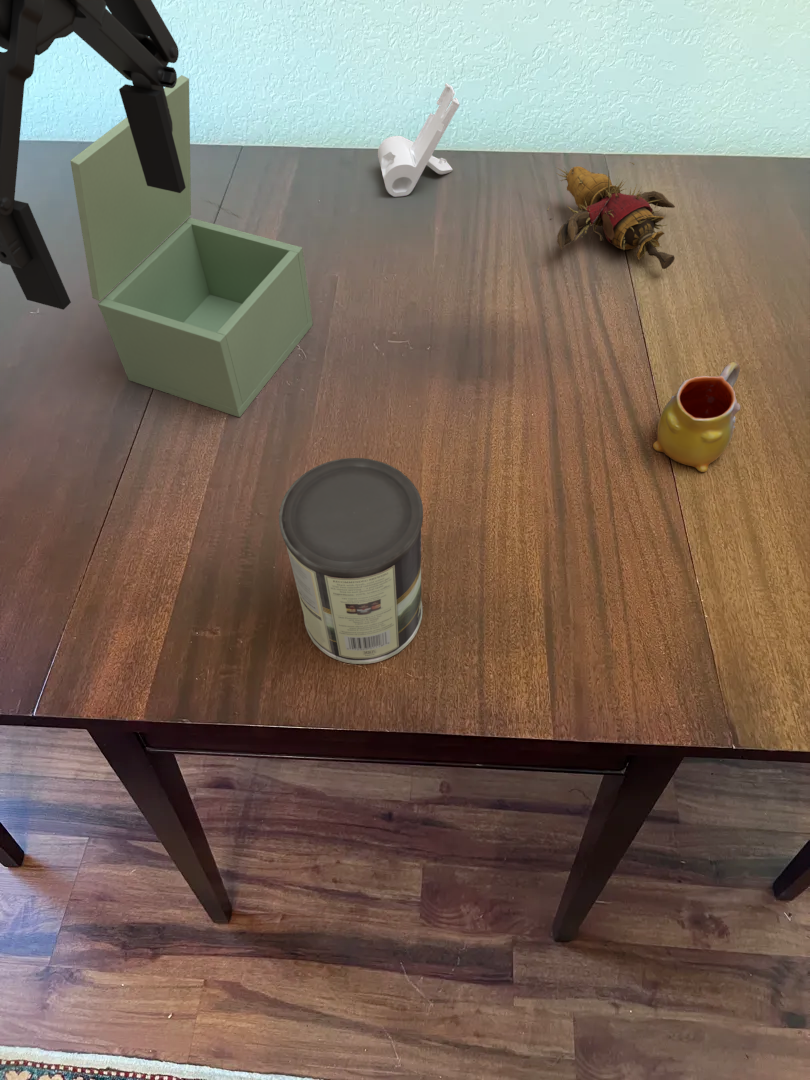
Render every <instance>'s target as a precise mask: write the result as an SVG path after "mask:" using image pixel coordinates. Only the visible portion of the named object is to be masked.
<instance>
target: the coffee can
mask: <svg viewBox="0 0 810 1080" xmlns="http://www.w3.org/2000/svg"><path fill="white" fill-rule="evenodd" d="M423 522H424V505H423V500H422V497H421V494H420V492H419V490H418V488H417V487H416V486H415V484H414V483H413V482H412V481H411V480H410V478H409V477H408V476H406V475H405V474H404V473H403V472H402V471H401V470H399V469H398V468H396V467H394V466H393V465H390V464H388V463H385V462H383V461H379V460H375V459H371V458H364V457H347V458H346V457H345V458H339V459H333V460H331V461H330V460H329V461H326V462H324V463H321V464H318V465H317V466H315V467H312V468H311V469H309V470H308V471H306V472H304V473H303V474H302V475H301V476H300V477H298V478H297V479H296V480H295V481H294V482H293V483H292V484H291V485H290V487H289V488H288V490H287V491H286V493H285V494H284V496H283V499H282V501H281V503H280V507H279V514H278V525H279V530H280V534H281V537H282V539H283V541H284V544H285V546H286V549H287V554H288V557H289V561H290V562H289V563H290V566H291V570H292V573H293V578H294V582H295V586H296V589H297V590H296V591H297V593H298V598H299V603H300V606H301V609H302V614H303V621H304V625H305V629H306V633H307V634H308V636H309V638H310V639H311V641H312V643H313V644H314V645H315V646H316V647H317V648H318V650H320V651H321V652H322V653H323V654H325V655H327V656H328V657H329V658H332V659H334V660H336V661H338V662H343V663H346V664H347V663H348V664H351V665H369V664H375V663H380V662H382V661H385V660H388V659H391V658H392V657H394V656H396V655H397V654H399V653H400V652H403V650H404V649H405V648H406V647H408V645H409V644H410V643H411V642H412V641H413V640H414V639H415V636H416V635H417V634H418V631H419V629H420V626H421V623H422V620H423V600H422V527H423Z"/></svg>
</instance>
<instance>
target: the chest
mask: <svg viewBox="0 0 810 1080" xmlns="http://www.w3.org/2000/svg"><path fill="white" fill-rule="evenodd" d="M309 292H310V291H309V285H308V278H307V270H306V265H305V255H304V250H303V247H302V246H299V245H295V244H291V243H287V242H284V241H279V240H275V239H272V238H268V237H264V236H261V235H258V234H257V235H256V234H254V233H250V232H245V231H243V230H242V231H241V230H238V229H235V228H231V227H227V226H223V225H220V224H217V223H213V222H212V223H211V222H209V221H205V220H201V219H197V218H194V217H191V216H189V217H188V218H187V219H186V220H185V221H184V222H183V223H182V224H181V225H180V226H179V227H178V228H177V229H176V230H174V231H173V232H172V233H171V234H170V235H169V236H168V237H167V238H166V239H165V240H164V241H163V242H162V243H161V244H160V245H159V246H158V247H156V248H155V249H154V250H153V251H152V252H151V253H150V254H149V255H148V256H147V257H146V258H145V259H144V260H143V261H142V262H141V263H140V264H139V265H137V266H136V267H135V268H134V269H133V270H132V271H131V272H130V273H129V274H128V275H127V276H126V277H125V278H124V279H123V280H122V281H121V282H119V283H118V284H117V285H116V286H115V287H114V288H113V289H112V290H111V291H110V292H109V293H108V294H107V295H106V296H105V297H104V298H103V299H101V300H100V301H98V303H97V304H98V308H99V310H100V312H101V315H102V317H103V320H104V323H105V325H106V328H107V330H108V333H109V335H110V337H111V340H112V342H113V344H114V347H115V350H116V352H117V355H118V357H119V360H120V362H121V364H122V367H123V369H124V372H125V374H126V377H127V379H128V381H130V382H132V383H135V384H138V385H142V386H145V387H147V388H151V389H154V390H156V391H160V392H163V393H166V394H168V395H171V396H174V397H177V398H180V399H183V400H186V401H189V402H192V403H195V404H198V405H201V406H205V407H208V408H211V409H213V410H215V411H219V412H222V413H224V414H227V415H231V416H234V417H237V418H241V417H242V415H243V414H244V413H245V412H246V411H247V409H248V408H249V407H250V406H251V404H252V403H253V401H254V400H255V399H256V398H257V396H258V395H259V394H260V393H261V391H262V390H263V389H264V388H265V386H266V385H267V384H268V382H269V381H270V380H271V379H272V377H273V376H274V375H275V374H276V372H277V371H278V370H279V369H280V367H281V366H282V365H283V364H284V362H285V361H286V360H287V359H288V357H289V356H290V354H291V353H292V352H293V351H294V350H295V349H296V347H297V346H298V345H299V343H300V342H301V341H302V339H303V338H304V337H305V336H306V335H307V333H308V332H309V331H310V330H311V328H312V327H313V325H314V323H313V315H312V308H311V307H312V306H311V300H310V293H309Z"/></svg>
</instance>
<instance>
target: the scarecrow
mask: <svg viewBox="0 0 810 1080" xmlns="http://www.w3.org/2000/svg"><path fill="white" fill-rule="evenodd" d="M629 164H632V165H633V166H635V163H634V162H631V161H630V162H629ZM554 168H556V169H557V170H559V171H561V174H559V173H557V175H558V176H560V177H562V178H564V179H561V180H559V181H561V182H562V181H566V182H567V186H566V191H567V192H569V193H570V194H571V196H572V197H573V199H574V202H575V204H576V206H577V210H578V211H577V210H574V209H572V208H571V207H570V206H568V209H569V210H570V211H571V212H572V213H574V214H572V215H571V216H570V218H569V219H568V220H567V221H566V223H563V225H561V227H560V228H559V231H558V233H557V236H556V243H557V244H558V245H557V246H558V247H559V249H560V250H561V251H562V250H563V249H564V246H566V245H569V244H570V243H571V242H573V241H575V240H577V239H578V238H579V237H581V238H582V236H581V235H582V234H583V232H584V235H586V234H587V231H588V230H589V227H592V229H593V231H592V232H590V234H593V232H595V233H596V234H597V235H599V241H601V242H603V241H604V237H605V239H606V240H607V241H608V242H609V243H610V244H611V245H613V246H614V247H615V248H618V249H621V250H623V251H625V250H633V249H635V248H638V247H639V248H638V250H637V252H636V256H637V259H638V260H641V259H644V258H645V255H646V254H648V256H650V257H652V258H654V257H655V258H657V260H658V261H659V264H660V267H661V269H663V270H665V269H667V268H669V267H670V266H671V265H672V264H673V263H674V262H675V255H674V254H669V253H667V252H664V251H659V250H658V249H657V248H661V246H660V241H659V239H660V238H662V236H663V235H665V232H664V231H662V230H660V229H661V228H660V227H666V226H667V224H661V223H660V222H661V221H663V220H665V219H664V218H665V216H661V215H654V214H655V213H657V212H661V210H662V208H669V209H670V208H671V209H674V208H676V205H675V204H674V203H672V202H671V201H669V200H668V198H667V197H666V196H665V195H664V194H663V193H662V192H659V191H656V190H652V191H645V192H644V191H643V190H641V188H642V185H641V187H640V188H639V189H638V191H637V193H636V189H637V185H638V184H636V185H635V187H634V189H633V192H632V188H630V189H629V193H628V194H627V193H622V191H624V190H626V188H623V187H624V185H625V184H626V182H627V181H628V179H626V181H625V182H624V181H623V180H624V179H622V180H621V182H619V185H618V183H616V184H615V185H614V184H613V183H612V180H611V178H610V174H605V173H599V172H597V173H595V172H593V171H592V172H591V171H590V170H588V169H586V168H585V167H582V166H578V165H577V166H573V167H571V168H570V170H569V171H567V170H566V168H565V167H563V168H564V170H563V169H562V168H558V167H554ZM617 185H618V186H617ZM621 188H623V189H621ZM550 205H551V204H549V205H548V207H547V209H546V211H547V212H548V211H549V209H550ZM652 206H654V209H656V208H657V207H658V208H661V209H658V210H655V211H654V210H653V208H652ZM551 220H552V218H549V221H551ZM657 223H660V224H657ZM598 227H602V233H601V232H600V231H598V230H597V228H598ZM655 229H657V230H660V231H657V232H656V231H655ZM603 234H604V235H603Z"/></svg>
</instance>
